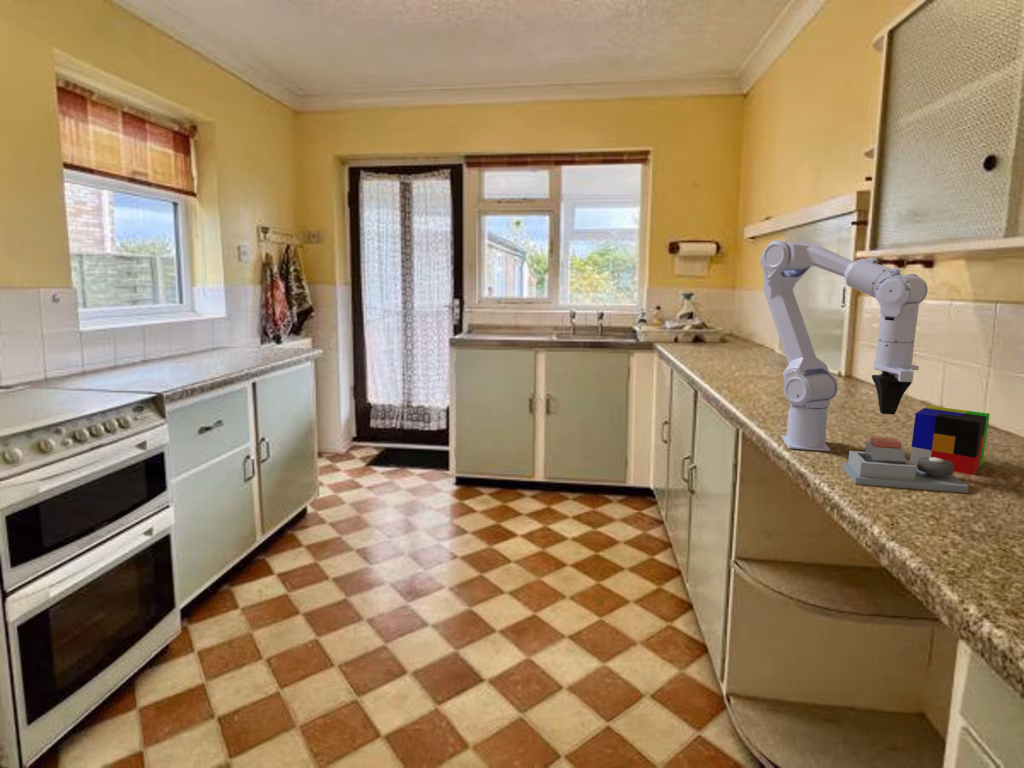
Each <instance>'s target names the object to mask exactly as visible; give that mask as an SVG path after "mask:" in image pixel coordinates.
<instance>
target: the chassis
mask: <svg viewBox="0 0 1024 768" xmlns="http://www.w3.org/2000/svg"><path fill="white" fill-rule="evenodd" d="M864 459H865V451H854V450H849V452H848V461H847V462H844V461H843V462H842V464H841V469H842V470H843V472H844V473H845V474H846V475H847V476H848V477H849V478H850V479H851V481H852V482H853V483H854V484H855V485H863V486H874V487H887V488H899V489H900V488H901V489H912V490H924V491H925V490H927V491H936V492H937V491H938V492H950V493H963V494H969V488H970V486H969V485H968V484H966V483H965V482H963V481H962V480H961V479H959V478H958V477H956V476H955V475H954V474H952V475H935V474H929V473H925V472H922V471H920V470H918V469H917V466H916V464H912V463H911V462H910V460H909V459H907V458H906V457H904V464H892V463H878V462H866V461H865V460H864Z"/></svg>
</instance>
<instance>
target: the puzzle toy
mask: <svg viewBox="0 0 1024 768" xmlns="http://www.w3.org/2000/svg"><path fill="white" fill-rule="evenodd" d="M990 416H991V415H990V413H989V412H988V413H987V412H981V411H973V410H964V409H957V408H950V407H944V406H943V407H942V406H937V405H936V406H934V405H927V406H925V407H924V408H921V410H919V411H917V412H916V413H915V416H914V424H913V430H912V431H913V432H912V438H911V439H912V440H911V449H910V455H909V461H910V462H911V463H912V464H914V465H917V464H918V459H919V458H923V457H929V458H930V457H935V458H940V459H943V460H947V461H950V462H952V463H954V469H953V473H959V474H960V473H961V474H965V475H971V476H973V475H974V474H975V473H976V472H977V471H978V470H979V469H980V467H981V466H982V465H983V461H984V456H985V451H986V450H985V448H986V443H987V435H988V430H989V429H988V428H989V423H990V422H989V420H990Z"/></svg>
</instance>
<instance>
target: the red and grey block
mask: <svg viewBox="0 0 1024 768" xmlns="http://www.w3.org/2000/svg"><path fill="white" fill-rule="evenodd" d="M902 444H903V443H902V442H901V441H900V440H899V439H897V438H895V437H894V438H891V437H881V436H880V437H878V436H876V437H875V436H871V437H870V440H869V441H866V444H865V451H864V452H865V459H864V460H865V461H866V462H878V463H892V464H904V457H905V454H906V448H905V447H903V446H902ZM905 458H906V457H905Z"/></svg>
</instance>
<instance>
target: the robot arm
mask: <svg viewBox="0 0 1024 768" xmlns="http://www.w3.org/2000/svg"><path fill="white" fill-rule="evenodd" d="M878 262H879V260H878V259H876V258H874V257H868V258H861V259H858V260H855V261H853V260H851V259H849V258H847V257H845V256H843V255H840V254H838V253H836V252H834V251H831V250H830V249H828V248H825V247H823V246H821V245H819V244H815V243H810V242H809V241H782V240H772V241H770V242H769V243H768V244H767V245H766V246H765V249H764V250H763V252H762V255H761V256H760V259H759V263H760V266H761V268H762V271H763V287H762V288H763V293H764V295H765V299H766V301H767V305H768V308H769V309H770V310H769V311H770V312H771V317H772V319H773V322H774V324H775V325H774V326H775V327H776V331H777V334H778V337H779V340H780V342H781V343H780V344H781V346H782V349H783V352H784V355H785V358H786V361H787V364H788V365H787V366H786V368H785V370H784V371H783V372H782V377H783V380H784V381H783V382H784V384H783V392H784V396H785V398H786V399H787V400H788V405H790V407H789V409H788V413H787V423H786V435H784V434H783V435H781V438H782V440H783V442H784V443H785V444H786V446H787V448H788V449H792V450H793V449H795V450H806V451H818V452H819V451H821V452H830V451H831V448H830V447H829V446H828V444H827V443H826V436H827V425H828V424H827V423H828V414H829V406H830V404H831V401H832V400H833V399H834V398H835V397H836V395H837V394H838V390H839V384H838V382H837V379H836V377H835V376H834V375H833V374H832V373H831V372H830V370H829V368H828V365H827V364H826V363H825V362H824V361H822V360H821V359H820V358H818V357H817V356H816V353H815V350H814V347H813V344H812V341H811V339H810V336H809V334H808V330H807V327H806V325H805V321H804V319H803V316H802V313H801V310H800V307H799V304H798V301H797V299H796V296H795V292H794V288H795V286H796V284H797V283H798V282H799V281H800V280H801V279H802V278H803V277H804V275H805V274H806V273H807V272H808V271H809V270H810V269H811V268H812V267H816V268H818V269H821V270H825V271H827V272H829V273H830V272H831V273H832V274H836V275H838V276H840V277H844V278H845V279H844V280H845V284H846V285H847V287H850V288H851V289H854V290H856V291H858V292H860V293H863V294H866V295H868V296H870V297H872V298H875V299H876V301H877V302H878V304H879V306H880V307H879V308H880V309H879V313H880V320H879V327H878V337H877V343H876V344H877V346H876V353H875V359H874V363H873V370H875V371H881V373H880V374H872V375H871V380H872V381H873V383H874V385H875V389H876V392H877V399H878V401H877V402H878V408H879V412H880V414H882V415H895V414H896V413H897V410H898V408H899V406H900V402H901V399H902V398H903V396H904V395H905V392H906V391H907V389H908V388H909V387H910V386H911V385H912V383H913V382H914V381H913V380H914V371H918V370H919V366H918V365H916V364H913V357H914V356H913V355H914V348H915V347H914V346H915V340H916V332H917V323H918V314H919V308H920V304H921V303H923V301H925V299H926V297H927V295H928V284H927V283H926V281H925V280H924V279H923V278H922V277H921V276H919V275H917V274H916V273H909V274H903V273H901V269H900V268H897V267H892V268H890V267H888V266H884V265H883V264H880V263H878Z"/></svg>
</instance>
